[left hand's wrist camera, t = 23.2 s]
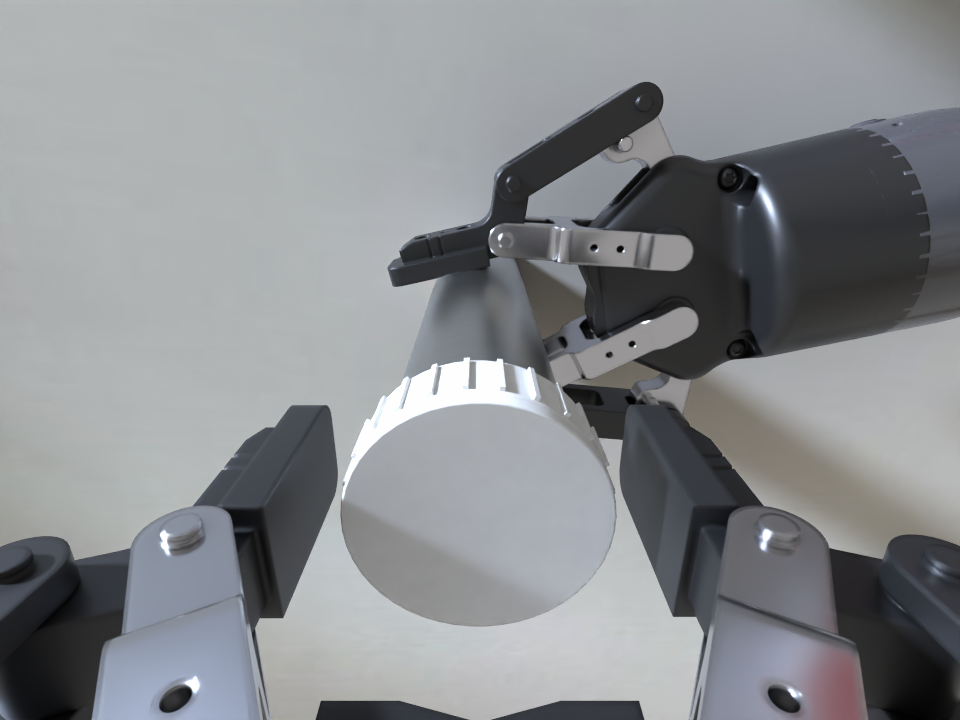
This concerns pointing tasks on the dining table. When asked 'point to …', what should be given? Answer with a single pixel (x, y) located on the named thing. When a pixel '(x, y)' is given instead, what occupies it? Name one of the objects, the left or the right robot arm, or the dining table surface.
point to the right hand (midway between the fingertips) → (411, 330)
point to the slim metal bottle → (480, 322)
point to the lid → (478, 495)
